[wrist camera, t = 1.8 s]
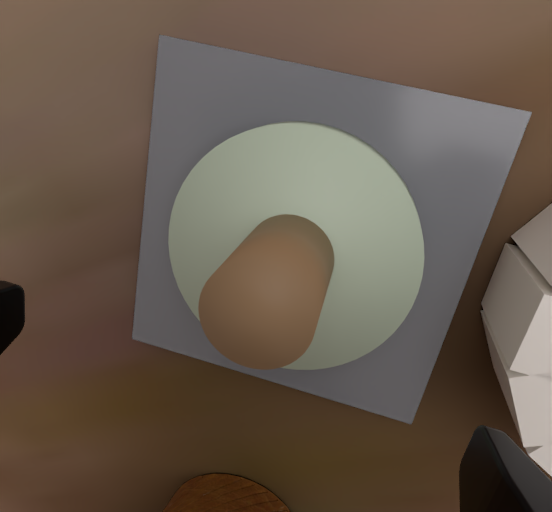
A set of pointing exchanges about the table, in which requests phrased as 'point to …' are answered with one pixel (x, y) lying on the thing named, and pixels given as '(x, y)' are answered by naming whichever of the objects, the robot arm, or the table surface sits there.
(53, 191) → the table surface
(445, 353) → the table surface
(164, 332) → the coaster
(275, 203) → the lid
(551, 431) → the bowl
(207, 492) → the disposable coffee cup
